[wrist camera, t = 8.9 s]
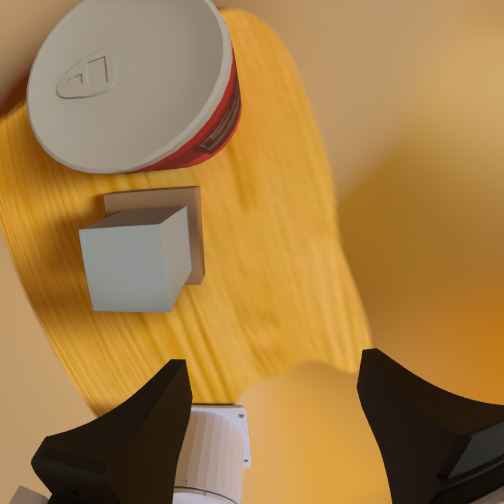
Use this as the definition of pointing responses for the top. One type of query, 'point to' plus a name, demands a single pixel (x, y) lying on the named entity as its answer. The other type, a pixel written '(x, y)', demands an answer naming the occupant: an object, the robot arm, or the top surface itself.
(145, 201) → the walnut block
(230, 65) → the canned food
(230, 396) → the top surface
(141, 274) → the grey block
